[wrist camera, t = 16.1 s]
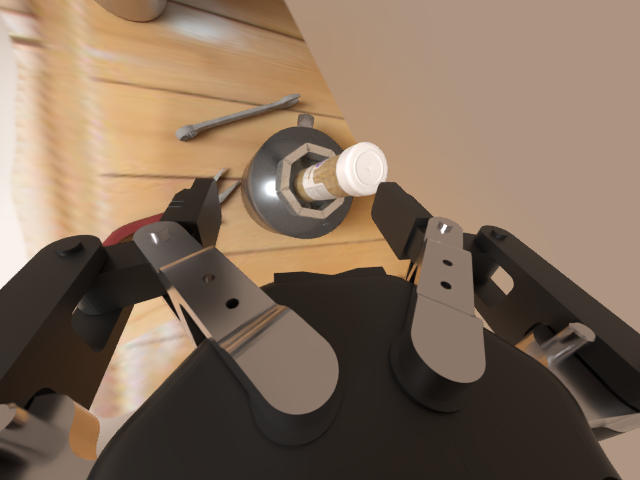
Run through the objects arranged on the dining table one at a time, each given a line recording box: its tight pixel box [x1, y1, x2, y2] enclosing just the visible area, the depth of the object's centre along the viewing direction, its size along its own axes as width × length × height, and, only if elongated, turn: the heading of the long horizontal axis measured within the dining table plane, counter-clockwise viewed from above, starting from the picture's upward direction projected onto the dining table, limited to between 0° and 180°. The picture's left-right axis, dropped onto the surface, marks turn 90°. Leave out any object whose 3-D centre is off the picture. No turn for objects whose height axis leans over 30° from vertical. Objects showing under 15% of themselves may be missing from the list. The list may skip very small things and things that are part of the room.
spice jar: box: [294, 142, 388, 202], centre depth 26 cm, size 5×5×13 cm
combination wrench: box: [175, 94, 300, 141], centre depth 36 cm, size 4×1×20 cm
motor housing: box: [241, 114, 353, 239], centre depth 35 cm, size 15×18×12 cm
